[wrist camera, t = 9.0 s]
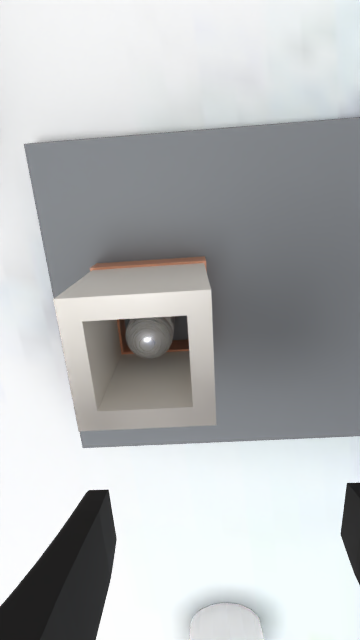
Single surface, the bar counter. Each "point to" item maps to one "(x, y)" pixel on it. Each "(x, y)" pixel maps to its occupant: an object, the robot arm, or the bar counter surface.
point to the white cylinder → (225, 623)
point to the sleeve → (121, 363)
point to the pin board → (229, 260)
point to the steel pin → (150, 336)
